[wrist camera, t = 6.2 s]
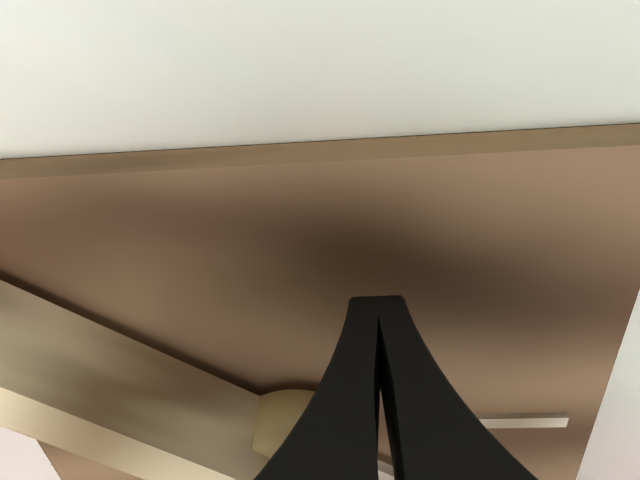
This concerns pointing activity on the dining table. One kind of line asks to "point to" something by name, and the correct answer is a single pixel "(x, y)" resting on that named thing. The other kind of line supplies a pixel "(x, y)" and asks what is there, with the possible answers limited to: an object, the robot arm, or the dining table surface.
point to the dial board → (353, 263)
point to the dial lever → (132, 400)
